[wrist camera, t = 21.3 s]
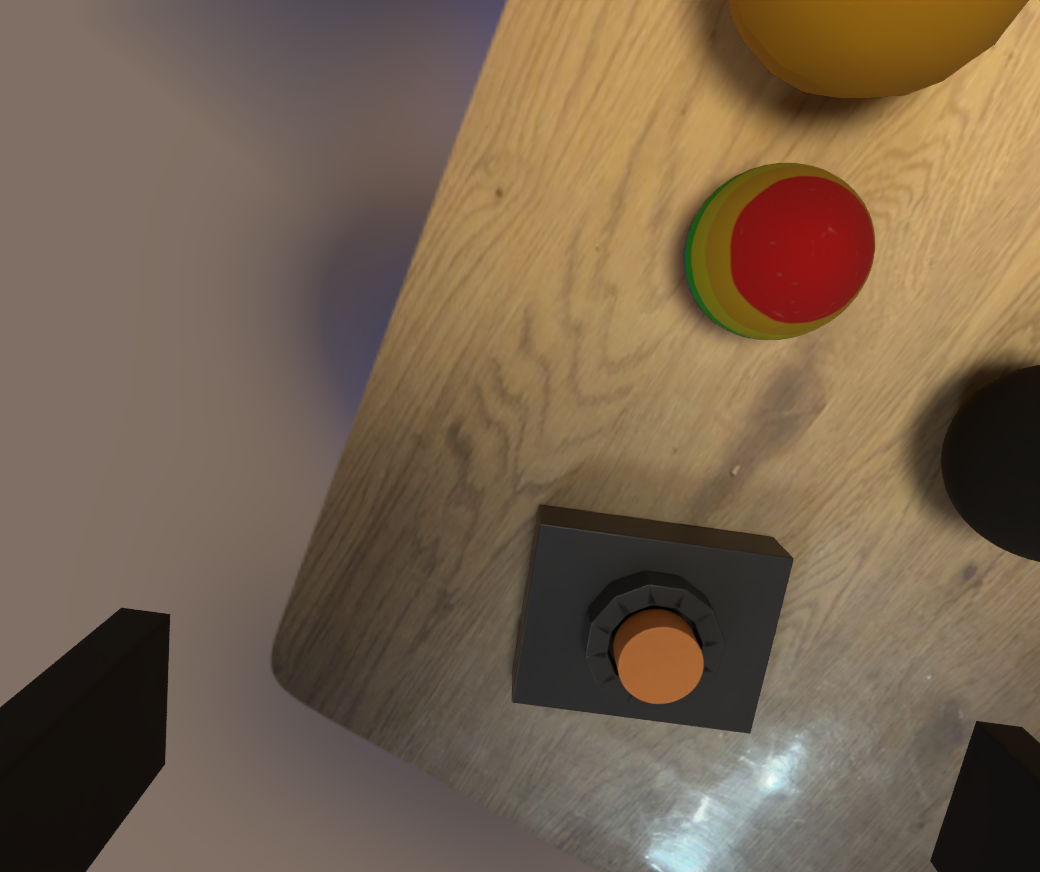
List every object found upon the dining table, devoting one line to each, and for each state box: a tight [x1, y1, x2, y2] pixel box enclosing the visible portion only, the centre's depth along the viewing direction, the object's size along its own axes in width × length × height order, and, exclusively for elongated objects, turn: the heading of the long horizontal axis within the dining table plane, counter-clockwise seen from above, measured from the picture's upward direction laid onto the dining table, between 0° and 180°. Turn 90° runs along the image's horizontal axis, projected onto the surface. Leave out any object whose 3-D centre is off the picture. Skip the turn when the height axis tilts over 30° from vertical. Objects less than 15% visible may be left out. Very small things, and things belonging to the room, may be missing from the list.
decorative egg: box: [684, 163, 875, 340], centre depth 32 cm, size 8×8×10 cm
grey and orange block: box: [512, 505, 793, 733], centre depth 39 cm, size 14×11×5 cm
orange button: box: [613, 609, 704, 704], centre depth 36 cm, size 4×4×2 cm
